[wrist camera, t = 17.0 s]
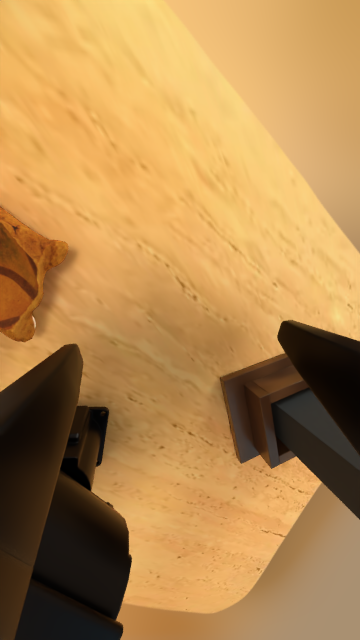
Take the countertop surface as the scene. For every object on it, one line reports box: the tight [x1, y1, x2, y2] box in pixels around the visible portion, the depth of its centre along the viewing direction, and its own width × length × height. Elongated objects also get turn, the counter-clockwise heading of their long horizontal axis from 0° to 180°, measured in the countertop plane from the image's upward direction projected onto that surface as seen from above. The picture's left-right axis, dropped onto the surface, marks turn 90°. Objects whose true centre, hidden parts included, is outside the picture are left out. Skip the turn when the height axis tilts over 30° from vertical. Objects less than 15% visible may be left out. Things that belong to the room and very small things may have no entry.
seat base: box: [220, 353, 308, 469], centre depth 24 cm, size 16×12×4 cm
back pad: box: [271, 387, 360, 519], centre depth 19 cm, size 7×5×12 cm
